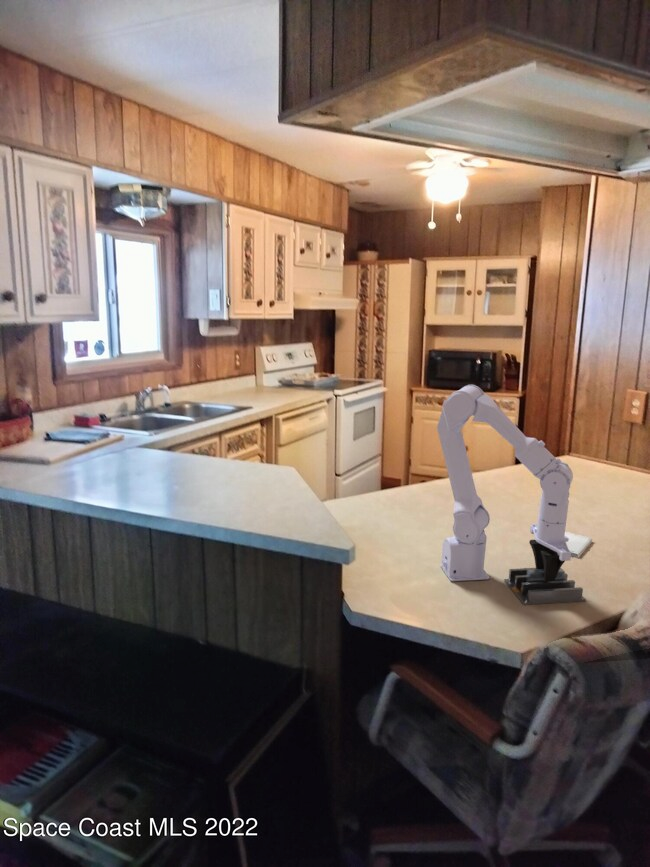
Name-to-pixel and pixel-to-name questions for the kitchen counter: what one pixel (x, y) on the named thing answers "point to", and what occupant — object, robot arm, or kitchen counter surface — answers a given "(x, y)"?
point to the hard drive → (577, 544)
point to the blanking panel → (542, 575)
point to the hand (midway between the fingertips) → (545, 575)
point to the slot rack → (543, 589)
